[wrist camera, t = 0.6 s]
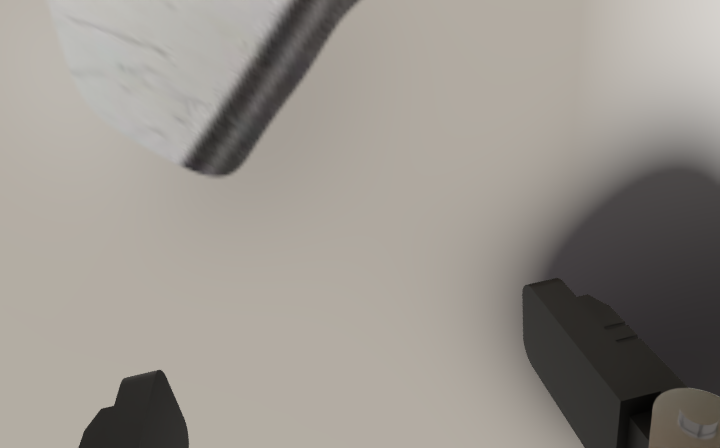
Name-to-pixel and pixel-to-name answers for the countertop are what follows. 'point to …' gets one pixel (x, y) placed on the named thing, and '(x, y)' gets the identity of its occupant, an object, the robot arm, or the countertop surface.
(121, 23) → the countertop surface
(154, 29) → the countertop surface
